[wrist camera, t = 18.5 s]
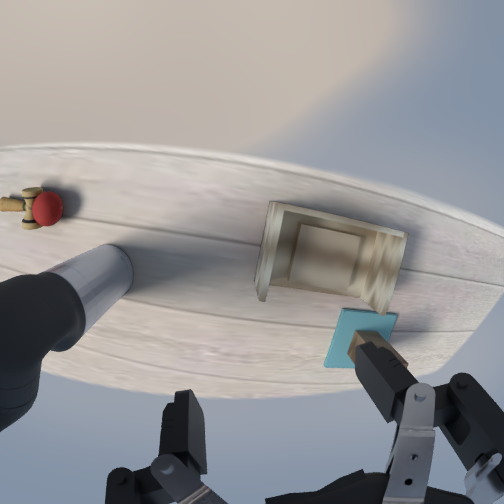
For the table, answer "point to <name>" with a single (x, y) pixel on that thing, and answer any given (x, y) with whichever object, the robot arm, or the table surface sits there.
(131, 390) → the table surface
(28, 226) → the kendama
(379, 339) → the walnut block
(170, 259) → the table surface
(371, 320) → the mat
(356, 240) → the crate
